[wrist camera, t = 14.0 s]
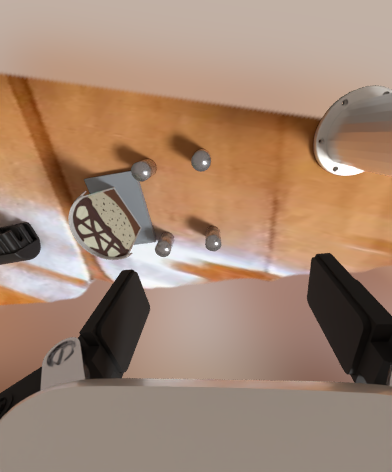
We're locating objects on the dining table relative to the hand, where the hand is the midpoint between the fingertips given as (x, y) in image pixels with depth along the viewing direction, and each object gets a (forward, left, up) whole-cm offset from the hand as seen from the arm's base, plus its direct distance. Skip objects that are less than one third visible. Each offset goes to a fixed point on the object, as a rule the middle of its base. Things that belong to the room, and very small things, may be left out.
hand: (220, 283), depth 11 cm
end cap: (+45, +7, -29) cm, 54 cm away
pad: (+19, +4, -29) cm, 35 cm away
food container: (+20, +4, -28) cm, 35 cm away
